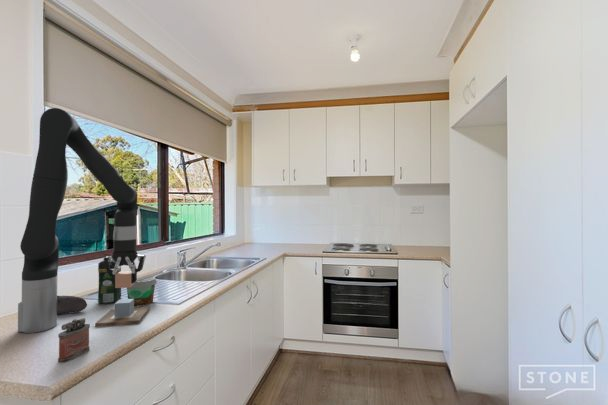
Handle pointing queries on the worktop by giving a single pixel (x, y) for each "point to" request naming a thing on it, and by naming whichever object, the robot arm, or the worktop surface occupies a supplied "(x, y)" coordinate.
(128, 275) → the terracotta block
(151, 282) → the food container
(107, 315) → the walnut board
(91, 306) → the worktop surface
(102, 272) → the coffee jar
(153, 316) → the worktop surface
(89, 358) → the worktop surface
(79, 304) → the perforated stone tool
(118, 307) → the slate block
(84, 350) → the lighter
